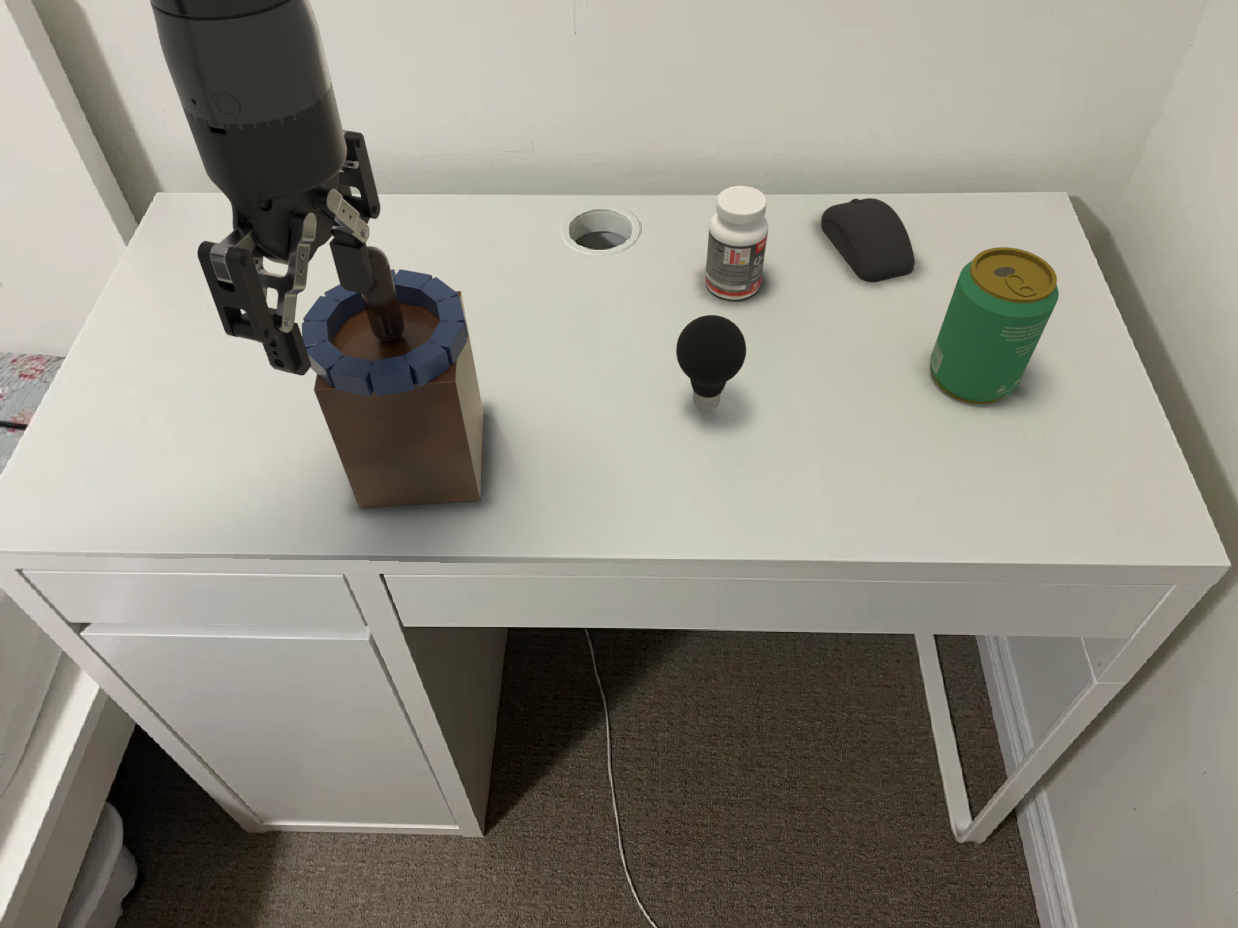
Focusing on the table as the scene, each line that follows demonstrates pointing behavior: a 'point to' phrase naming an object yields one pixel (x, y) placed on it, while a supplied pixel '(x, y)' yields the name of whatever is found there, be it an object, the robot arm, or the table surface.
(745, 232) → the pill bottle
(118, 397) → the table surface
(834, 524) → the table surface
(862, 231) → the computer mouse
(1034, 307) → the beverage can
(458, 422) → the stand
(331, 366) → the ring
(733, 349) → the light bulb
